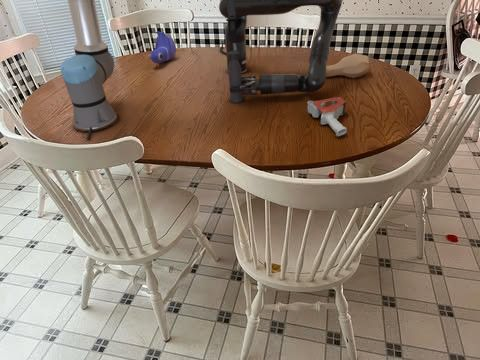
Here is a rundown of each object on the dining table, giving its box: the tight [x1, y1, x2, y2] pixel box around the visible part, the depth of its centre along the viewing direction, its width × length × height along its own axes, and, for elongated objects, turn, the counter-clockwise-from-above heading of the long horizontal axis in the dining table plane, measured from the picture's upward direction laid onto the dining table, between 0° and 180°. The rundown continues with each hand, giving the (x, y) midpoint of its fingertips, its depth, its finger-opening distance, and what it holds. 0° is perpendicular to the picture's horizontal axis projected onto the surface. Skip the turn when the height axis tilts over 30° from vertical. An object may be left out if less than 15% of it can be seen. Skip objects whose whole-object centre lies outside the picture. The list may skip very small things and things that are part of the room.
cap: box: [228, 51, 240, 60], centre depth 133 cm, size 4×4×2 cm
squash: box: [326, 52, 370, 79], centre depth 156 cm, size 11×20×9 cm, turn 92°
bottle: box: [227, 59, 244, 104], centre depth 138 cm, size 5×5×18 cm
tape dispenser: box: [307, 96, 348, 137], centre depth 123 cm, size 18×5×20 cm
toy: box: [149, 30, 177, 68], centre depth 183 cm, size 10×17×25 cm
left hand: (232, 37), depth 129 cm, fingers open, 6 cm apart
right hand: (229, 86), depth 140 cm, fingers open, 6 cm apart
